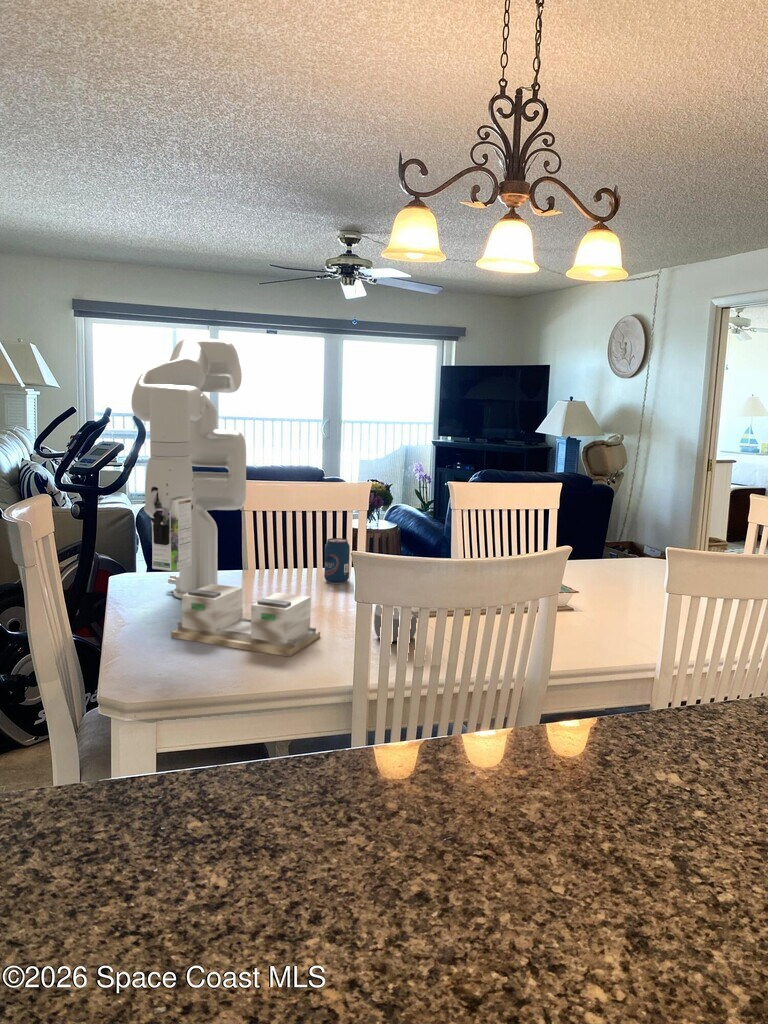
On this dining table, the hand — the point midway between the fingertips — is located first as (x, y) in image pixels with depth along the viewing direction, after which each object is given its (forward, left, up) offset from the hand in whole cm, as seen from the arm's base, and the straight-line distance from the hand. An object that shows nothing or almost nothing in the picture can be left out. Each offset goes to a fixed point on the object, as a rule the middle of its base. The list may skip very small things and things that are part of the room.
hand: (171, 540), depth 147 cm
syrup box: (0, 0, -6) cm, 6 cm away
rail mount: (+10, +12, -22) cm, 27 cm away
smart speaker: (+39, +25, -22) cm, 51 cm away
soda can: (+7, +66, -22) cm, 70 cm away
